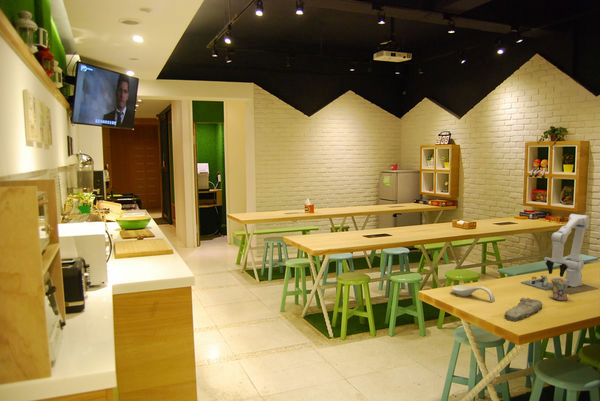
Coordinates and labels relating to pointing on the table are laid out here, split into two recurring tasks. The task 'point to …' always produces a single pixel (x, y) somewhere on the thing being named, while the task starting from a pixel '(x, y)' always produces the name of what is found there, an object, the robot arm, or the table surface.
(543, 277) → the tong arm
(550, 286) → the mat
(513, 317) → the elongated rock
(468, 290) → the spoon rest
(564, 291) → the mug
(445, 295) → the table surface
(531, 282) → the base
